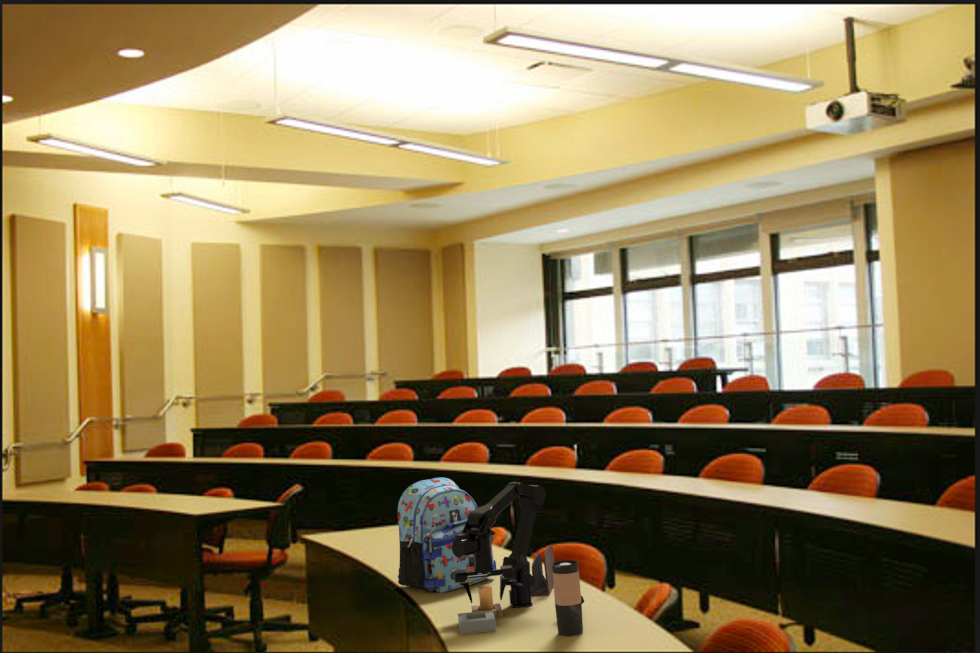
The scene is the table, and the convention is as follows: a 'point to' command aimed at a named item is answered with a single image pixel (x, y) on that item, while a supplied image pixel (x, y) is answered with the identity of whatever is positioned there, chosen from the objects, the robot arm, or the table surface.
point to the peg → (485, 597)
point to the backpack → (433, 534)
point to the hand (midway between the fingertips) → (486, 601)
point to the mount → (496, 609)
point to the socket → (476, 622)
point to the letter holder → (542, 584)
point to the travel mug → (567, 597)
